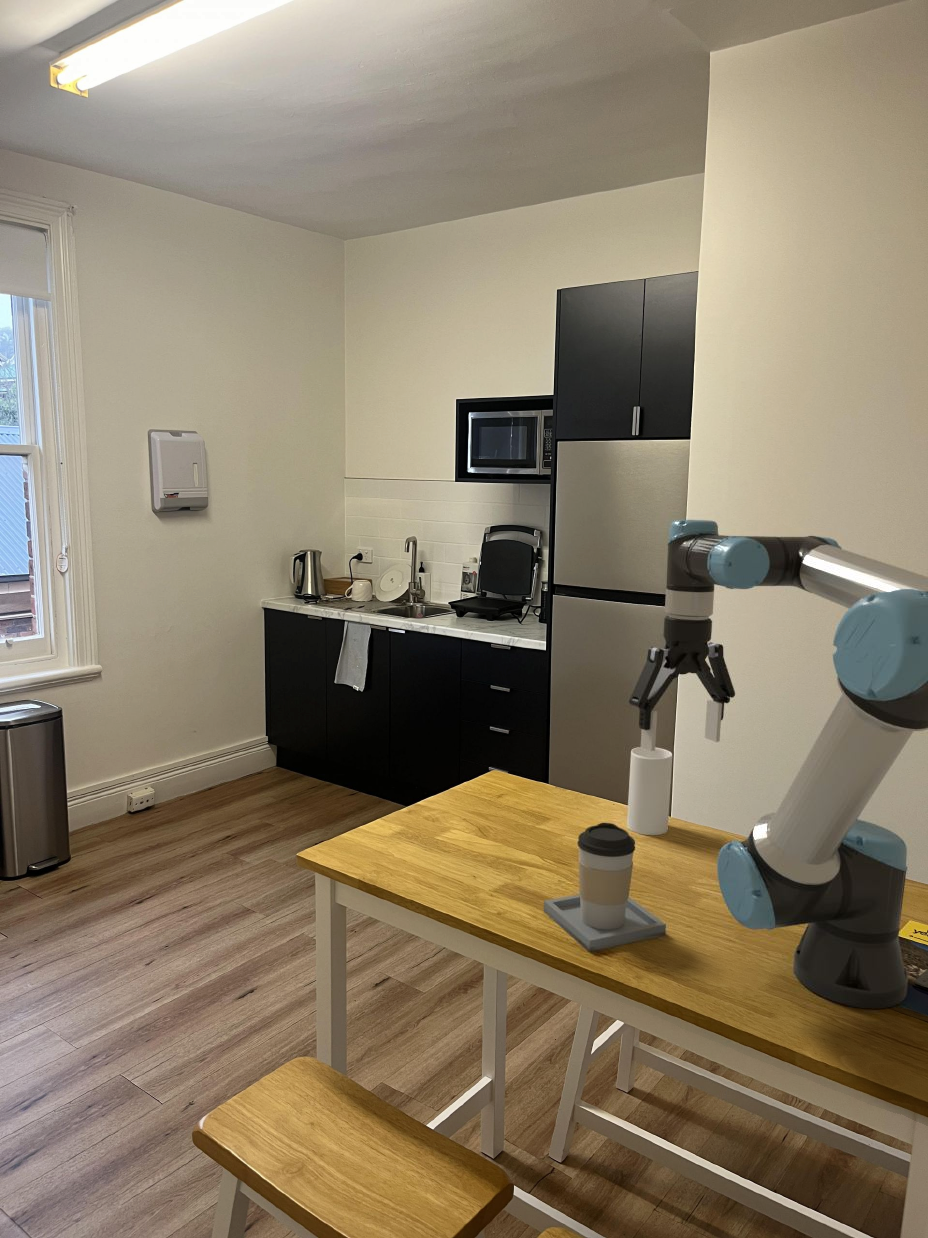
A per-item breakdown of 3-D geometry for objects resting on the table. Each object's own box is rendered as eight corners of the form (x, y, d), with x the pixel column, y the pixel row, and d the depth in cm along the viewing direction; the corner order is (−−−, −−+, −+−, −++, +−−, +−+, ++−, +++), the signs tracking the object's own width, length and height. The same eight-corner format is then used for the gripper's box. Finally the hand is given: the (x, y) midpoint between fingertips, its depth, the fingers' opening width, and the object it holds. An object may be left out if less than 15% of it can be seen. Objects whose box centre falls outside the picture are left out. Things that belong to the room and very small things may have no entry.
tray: (665, 935, 143) (666, 924, 143) (588, 952, 137) (589, 940, 137) (615, 897, 156) (615, 887, 155) (543, 911, 150) (544, 900, 150)
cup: (671, 836, 183) (676, 759, 181) (630, 834, 183) (634, 758, 181) (663, 820, 191) (667, 747, 189) (623, 819, 191) (628, 746, 189)
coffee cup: (630, 936, 141) (635, 843, 139) (571, 929, 143) (576, 838, 140) (631, 910, 150) (636, 822, 147) (576, 904, 151) (580, 817, 149)
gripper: (729, 609, 156) (721, 730, 159) (611, 616, 144) (605, 746, 147) (762, 615, 149) (753, 741, 152) (641, 623, 137) (634, 759, 140)
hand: (680, 744), depth 150 cm, fingers open, 13 cm apart
